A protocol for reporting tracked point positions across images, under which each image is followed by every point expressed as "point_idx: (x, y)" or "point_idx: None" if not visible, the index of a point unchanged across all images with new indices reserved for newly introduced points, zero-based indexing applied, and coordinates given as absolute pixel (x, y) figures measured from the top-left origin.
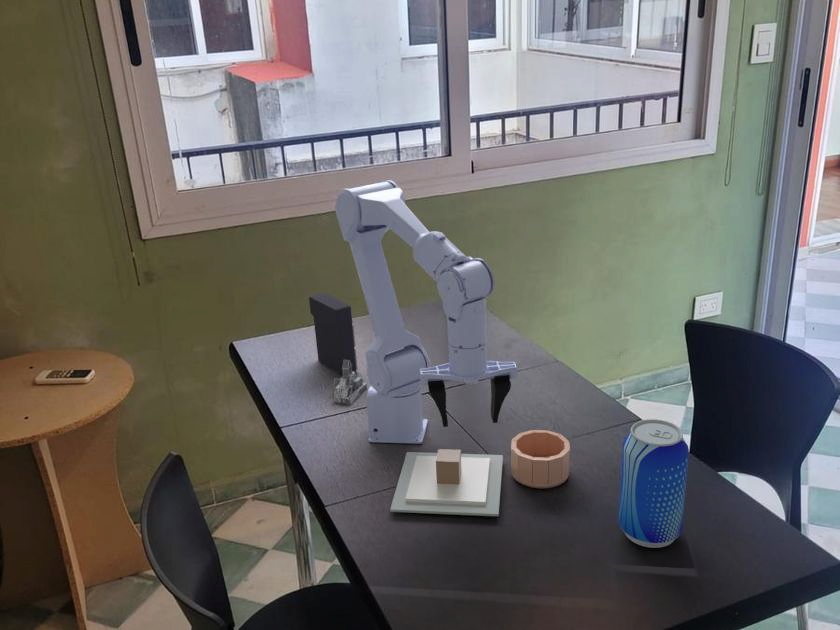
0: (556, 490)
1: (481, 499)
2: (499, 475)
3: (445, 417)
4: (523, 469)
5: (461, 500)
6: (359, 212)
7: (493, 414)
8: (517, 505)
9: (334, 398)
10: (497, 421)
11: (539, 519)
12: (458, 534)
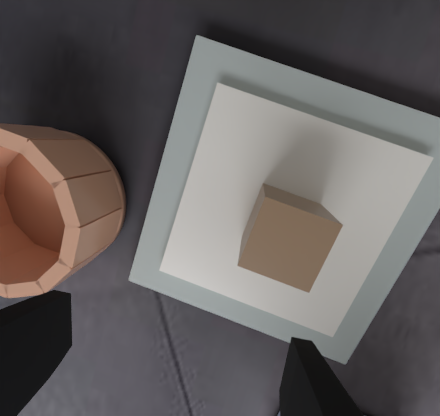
0: None
1: (224, 97)
2: (154, 204)
3: (321, 382)
4: (82, 161)
5: (279, 106)
6: None
7: (27, 320)
8: (142, 96)
9: None
10: (46, 293)
11: (105, 24)
12: (316, 3)
